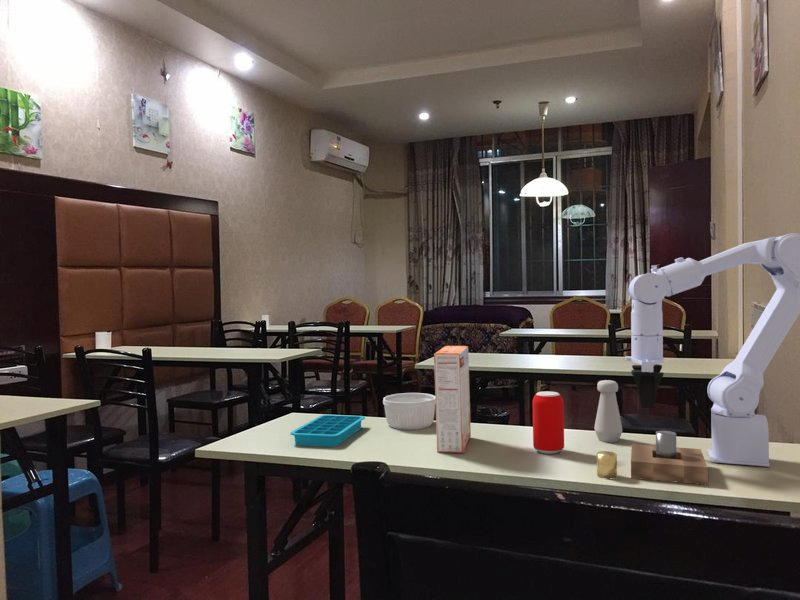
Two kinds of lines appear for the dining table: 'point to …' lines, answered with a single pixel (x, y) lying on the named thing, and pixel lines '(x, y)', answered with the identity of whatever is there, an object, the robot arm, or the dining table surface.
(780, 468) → the dining table surface
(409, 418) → the ramekin
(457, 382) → the cracker box
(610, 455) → the short pin
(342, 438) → the ice cube tray
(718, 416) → the robot arm
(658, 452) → the long pin
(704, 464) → the hole block
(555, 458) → the dining table surface
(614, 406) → the salt shaker
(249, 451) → the dining table surface
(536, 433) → the beverage can
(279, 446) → the dining table surface
